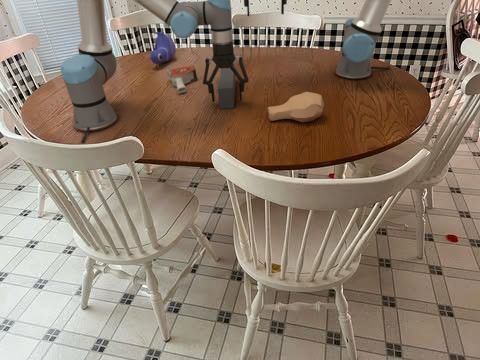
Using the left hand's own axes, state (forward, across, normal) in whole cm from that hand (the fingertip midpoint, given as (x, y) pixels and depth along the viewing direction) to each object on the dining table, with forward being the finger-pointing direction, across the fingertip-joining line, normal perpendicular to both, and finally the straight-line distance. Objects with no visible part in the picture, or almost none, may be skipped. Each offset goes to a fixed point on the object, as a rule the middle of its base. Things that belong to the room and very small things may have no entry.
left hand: (227, 100), depth 140 cm
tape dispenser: (+1, +22, -23) cm, 32 cm away
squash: (+2, -25, +16) cm, 30 cm away
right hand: (-26, -16, -22) cm, 38 cm away
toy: (+1, +36, -54) cm, 65 cm away
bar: (+1, 0, -10) cm, 10 cm away
